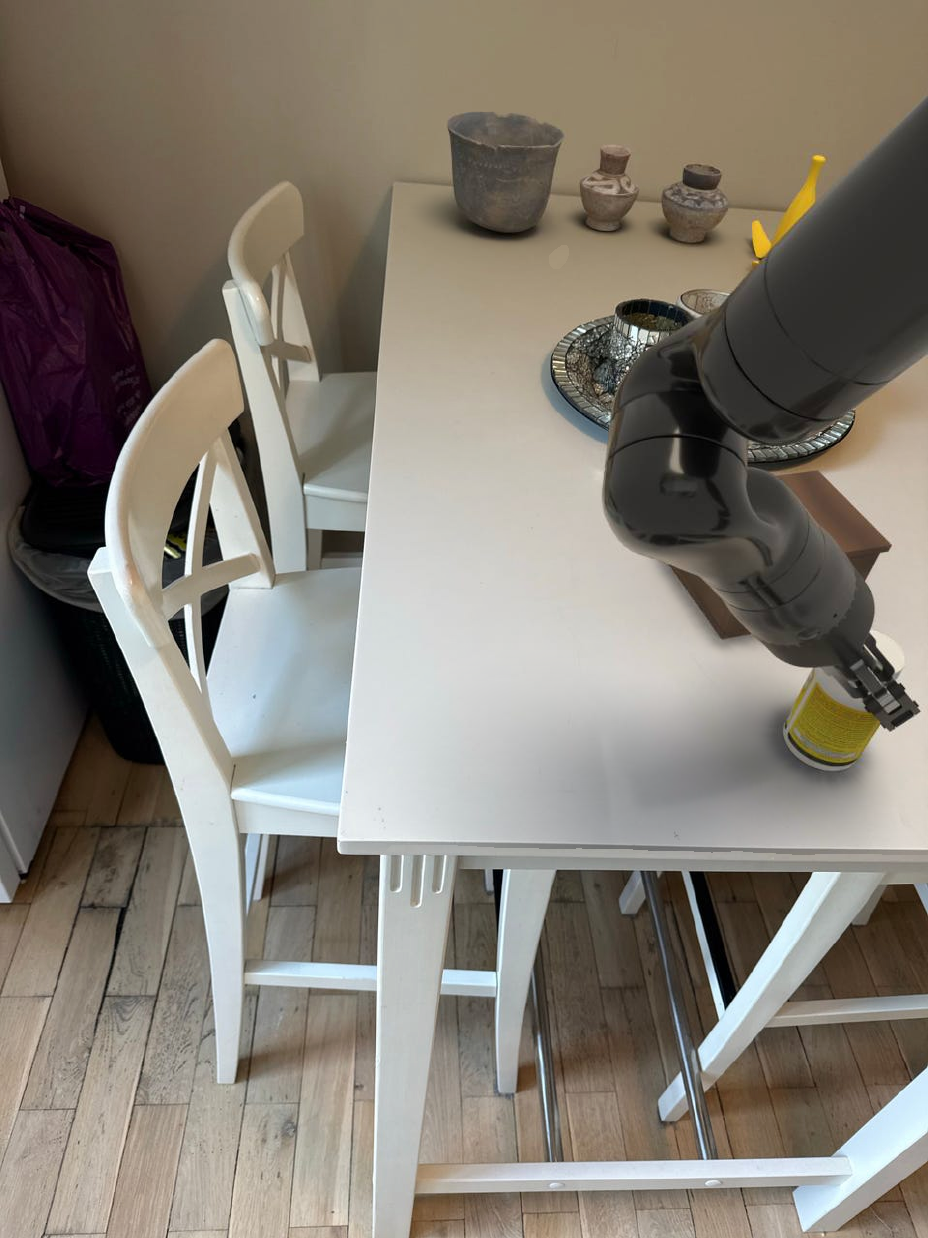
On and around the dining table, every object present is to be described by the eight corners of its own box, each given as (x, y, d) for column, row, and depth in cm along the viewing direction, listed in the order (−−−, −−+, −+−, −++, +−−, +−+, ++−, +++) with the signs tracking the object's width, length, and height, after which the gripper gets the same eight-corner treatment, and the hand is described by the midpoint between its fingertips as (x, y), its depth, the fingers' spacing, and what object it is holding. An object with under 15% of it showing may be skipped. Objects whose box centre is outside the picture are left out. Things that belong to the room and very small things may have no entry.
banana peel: (750, 239, 151) (782, 132, 139) (852, 277, 143) (895, 167, 131) (698, 263, 142) (728, 150, 130) (804, 305, 133) (846, 189, 122)
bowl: (474, 254, 137) (483, 150, 127) (423, 213, 148) (427, 114, 137) (568, 240, 144) (584, 140, 134) (513, 202, 155) (523, 106, 144)
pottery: (574, 210, 154) (586, 135, 146) (716, 228, 154) (736, 154, 145) (572, 234, 146) (584, 156, 138) (722, 253, 146) (744, 176, 137)
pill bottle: (867, 776, 70) (930, 685, 62) (791, 771, 70) (844, 679, 62) (844, 716, 74) (900, 623, 67) (773, 711, 74) (820, 617, 66)
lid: (815, 476, 86) (818, 469, 85) (888, 551, 78) (892, 544, 78) (684, 493, 82) (686, 486, 82) (747, 574, 74) (750, 567, 74)
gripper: (917, 631, 50) (980, 723, 62) (781, 484, 60) (857, 587, 71) (805, 708, 52) (886, 783, 64) (691, 554, 62) (780, 643, 73)
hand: (871, 679), depth 67 cm, fingers closed on pill bottle, 6 cm apart
